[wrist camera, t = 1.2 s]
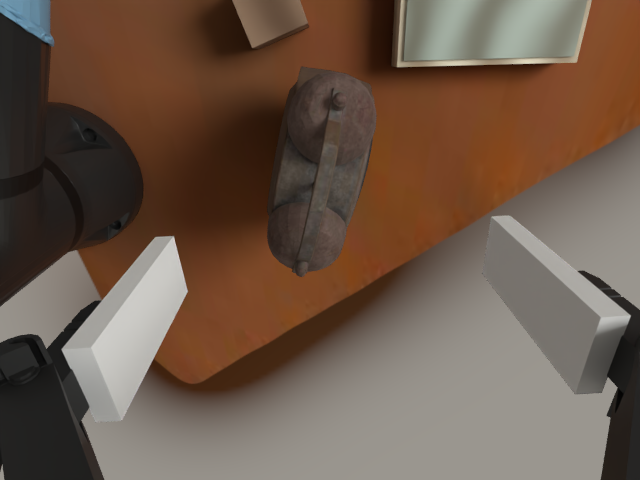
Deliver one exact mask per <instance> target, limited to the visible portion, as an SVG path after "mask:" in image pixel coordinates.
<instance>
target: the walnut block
mask: <svg viewBox="0 0 640 480" xmlns="http://www.w3.org/2000/svg"><path fill="white" fill-rule="evenodd" d="M232 1H233V3H234V6H235V8H236V10H237V13H238V15H239V18H240V20H241V22H242V25H243V27H244V30H245V32H246V34H247V37H248V39H249V41H250V44H251V46H252V48H256V49H261V48H264V47H266V46H268V45H270V44H273V43H275V42H277V41H279V40H281V39H284V38H286V37H288V36H290V35H293V34H295V33H297V32H299V31H302V30H304V29H306V28H308V27H309V25H308V22H307V19H306V16H305V13H304V10H303V8H302V5H301V2H300V0H232Z"/></svg>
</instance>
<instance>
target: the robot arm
mask: <svg viewBox="0 0 640 480" xmlns="http://www.w3.org/2000/svg"><path fill="white" fill-rule="evenodd" d="M51 46H53V47H54V39H53V37H52V36H51V34H50V0H0V306H1V305H3V304H4V303H5V302H6V301H8V300H9V299H10V298H11V297H13V296H14V295H15V294H16V293H17V292H19V291H20V290H21V289H23V288H24V287H25V286H26V285H28V284H29V283H30V282H31V281H33V280H34V279H35V278H36V277H38V276H39V275H40V274H41V273H43V272H44V271H45V270H46V269H48V268H49V267H50V266H51V265H53V264H54V263H55V262H56V261H58V260H59V259H60V258H61V257H62V256H63V255H65V254H66V253H67V252H70V251H74V250H78V249H82V248H86V247H89V246H93V245H97V244H100V243H103V242H105V241H108V240H110V239H111V238H113V237H115V236H116V235H118V234H119V233H120V232H121V231H122V230H123V229H124V228H126V227H127V226H128V225H129V224H130V223H131V222H132V221H133V219H134V218H135V216H136V215H137V213H138V211H139V209H140V206H141V203H142V198H143V180H142V175H141V171H140V168H139V165H138V162H137V160H136V158H135V156H134V154H133V152H132V151H131V149H130V147H129V146H128V145H127V143H126V142H125V141H124V139H123V138H122V137H121V136H120V135H119V134H118V133H117V132H116V131H115V130H114V129H113V128H112V127H111V126H110V125H109V124H107V123H106V122H105V121H103V120H102V119H100V118H99V117H97V116H96V115H94V114H92V113H90V112H88V111H86V110H84V109H81V108H79V107H76V106H72V105H68V104H64V103H55V102H48V88H49V71H50V54H51ZM482 274H483V275H484V277H485V278H486V279H487V281H488V282H489V283H490V284H491V286H492V287H493V288H494V289H495V291H496V292H497V294H498V295H499V296H500V297H501V299H502V300H503V301H504V303H505V304H506V305H507V307H508V308H509V309H510V310H511V312H512V313H513V314H514V316H515V317H516V318H517V320H518V321H519V322H520V323H521V325H522V326H523V327H524V329H525V330H526V331H527V333H528V334H529V335H530V336H531V338H532V339H533V340H534V342H535V343H536V344H537V346H538V347H539V348H540V349H541V351H542V352H543V353H544V354H545V356H546V357H547V359H548V360H549V361H550V362H551V364H552V365H553V366H554V368H555V369H556V370H557V372H558V373H559V374H560V375H561V377H562V378H563V379H564V381H565V382H566V383H567V384H568V386H569V387H570V388H571V390H572V391H573V392H574V394H589V393H602V391H603V388H604V385H605V383H606V380H607V378H608V377H609V378H610V379H611V381H612V382H613V383H614V384H615V385H616V386H617V387H618V388H617V391H616V393H615V396H614V398H613V401H612V403H611V406H610V408H609V411H608V413H607V416H608V417H610V418H611V419H610V425H609V432H608V438H607V444H606V451H605V457H604V463H603V470H602V476H601V480H640V310H639V309H638V308H637V307H635V306H634V305H632V304H631V303H630V302H629V301H628V300H626V299H625V298H624V297H621V295H620V294H619V293H617V292H616V291H615V290H613V289H611V287H610V286H609V285H607V284H606V283H605V282H604V281H602V280H601V279H600V278H597V277H596V276H593V275H591V274H589V273H587V272H585V271H576V270H575V269H574V268H573V267H571V266H570V265H569V264H568V263H566V262H565V261H564V260H563V259H562V258H560V257H559V256H558V255H557V254H556V253H554V252H553V251H552V250H551V249H550V248H548V247H547V246H546V245H545V244H544V243H543V242H541V241H540V240H539V239H538V238H536V237H535V236H534V235H533V234H532V233H530V232H529V231H528V230H527V229H526V228H524V227H523V226H522V225H521V224H520V223H518V222H517V221H516V220H515V219H513V218H512V217H511V216H493V217H491V221H490V227H489V234H488V241H487V247H486V253H485V260H484V266H483V273H482ZM187 292H188V291H187V287H186V283H185V279H184V275H183V271H182V267H181V263H180V259H179V255H178V251H177V247H176V243H175V239H174V236H164V237H155V238H154V239H153V240H152V241H151V243H150V244H149V245H148V246H147V247H146V249H145V250H144V251H143V252H142V253H141V255H140V256H139V257H138V258H137V259H136V261H135V262H134V263H133V264H132V265H131V267H130V268H129V269H128V270H127V271H126V273H125V274H124V275H123V276H122V277H121V279H120V280H119V281H118V282H117V283H116V285H115V286H114V287H113V288H112V289H111V291H110V292H109V293H108V294H107V295H106V297H105V298H104V299H103V300H102V301H94V302H93V303H91V304H90V305H88V306H87V307H85V308H84V309H82V310H81V311H80V312H79V313H78V314H77V315H76V316H75V318H74V319H73V320H72V323H69V324H68V325H67V327H66V328H65V329H64V332H61V333H60V334H59V336H58V337H57V338H56V339H55V340H54V341H53V342H52V343H51V345H50V346H49V347H48V348H47V349H46V347H45V345H44V343H43V341H42V339H41V338H40V337H39V336H38V335H33V334H27V335H20V336H17V337H14V338H10V339H7V340H6V341H3V342H1V343H0V470H1V466H2V464H3V471H4V479H5V480H104V478H103V475H102V472H101V470H100V467H99V464H98V462H97V459H96V456H95V454H94V451H93V448H92V446H91V443H90V440H89V438H88V435H87V432H86V430H85V427H84V425H83V423H82V421H81V420H82V418H83V417H84V415H85V413H86V412H87V410H88V409H89V410H90V412H91V414H92V416H93V418H94V420H95V422H109V421H122V419H123V417H124V415H125V413H126V411H127V409H128V407H129V405H130V403H131V401H132V400H133V398H134V396H135V394H136V392H137V390H138V388H139V386H140V384H141V382H142V380H143V378H144V376H145V374H146V372H147V370H148V368H149V366H150V364H151V362H152V360H153V358H154V356H155V355H156V353H157V351H158V349H159V347H160V345H161V343H162V341H163V339H164V337H165V335H166V333H167V331H168V329H169V327H170V325H171V323H172V321H173V319H174V317H175V315H176V313H177V311H178V310H179V308H180V306H181V304H182V302H183V300H184V298H185V296H186V294H187Z"/></svg>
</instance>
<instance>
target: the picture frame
mask: <svg viewBox="0 0 640 480" xmlns="http://www.w3.org/2000/svg"><path fill="white" fill-rule="evenodd" d="M591 1H592V0H395V6H394V25H393V44H392V63H391V66H393V67H422V66H460V65H498V64H536V63H573V62H577V59H578V55H579V50H580V46H581V42H582V38H583V34H584V30H585V26H586V22H587V18H588V14H589V10H590V6H591Z"/></svg>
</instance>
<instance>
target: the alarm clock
mask: <svg viewBox="0 0 640 480" xmlns="http://www.w3.org/2000/svg"><path fill="white" fill-rule="evenodd" d="M375 127H376V109H375V105H374V97H373V95H372V90H371V85H370V84H368V83H366V82H363V81H361V80H358V79H356V78H354V77H352V76H350V75H348V74H345V73H339V72H334V71H330V70H322V69H314V68H307V67H301V69H300V73H299V76H298V81H297V82H296V84H295V85H294V86H293V87H292V88H291V89H290V91H289V94H288V98H287V102H286V106H285V110H284V115H283V119H282V124H281V128H280V133H279V138H278V143H277V149H276V154H275V159H274V165H273V171H272V177H271V183H270V190H269V197H268V205H267V212H268V215H269V221H268V232H267V238H268V244H269V248H270V250H271V252H272V254H273V255H274V257H275V258H276V259H277V260H278V261H279V262H280V263H282V264H284V265H285V266H287V267H289V268H291V269H293V270H292V272H293V273H296V274H297V275H298V276H300V277H302V276H304V275H305V274H306V273H307V271H316V270H320V269H323V268H325V267H327V266H329V265H331V264H332V263H333V262H334V261H335V260H336V259H337V258H338V256H339V254H340V253H341V250H342V247H343V244H344V240H345V237H346V231H347V230H346V229H347V227H348V224H349V222H350V220H351V217H352V214H353V211H354V208H355V206H356V203H357V200H358V198H359V195H360V192H361V189H362V186H363V182H364V178H365V174H366V171H367V167H368V162H369V157H370V152H371V146H372V139H373V134H374V132H375Z"/></svg>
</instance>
